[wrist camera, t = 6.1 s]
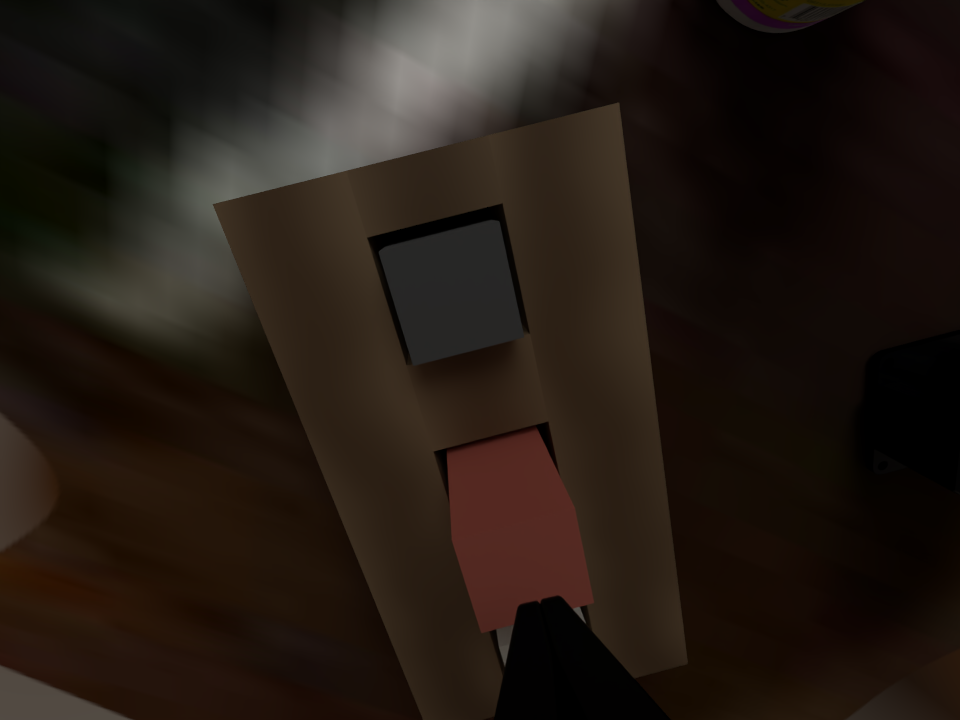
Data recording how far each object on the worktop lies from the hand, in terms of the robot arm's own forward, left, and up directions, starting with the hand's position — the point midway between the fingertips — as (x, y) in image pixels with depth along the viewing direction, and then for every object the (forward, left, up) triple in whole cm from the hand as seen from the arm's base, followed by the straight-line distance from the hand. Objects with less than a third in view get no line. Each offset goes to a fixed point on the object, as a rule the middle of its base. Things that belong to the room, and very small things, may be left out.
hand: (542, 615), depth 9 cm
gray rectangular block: (0, -5, -11) cm, 12 cm away
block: (0, +2, -12) cm, 12 cm away
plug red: (0, +2, -8) cm, 9 cm away
